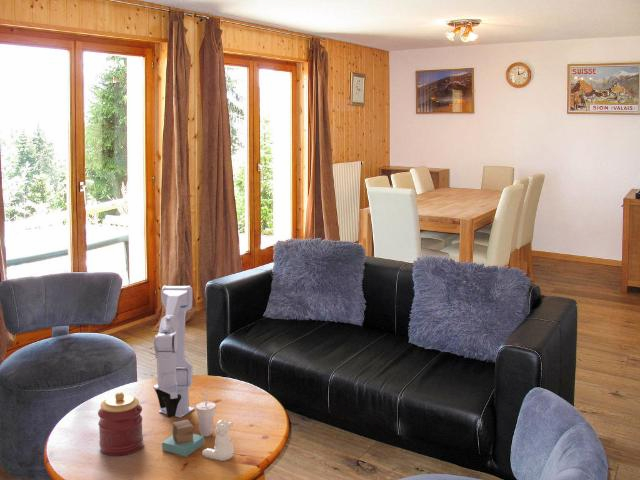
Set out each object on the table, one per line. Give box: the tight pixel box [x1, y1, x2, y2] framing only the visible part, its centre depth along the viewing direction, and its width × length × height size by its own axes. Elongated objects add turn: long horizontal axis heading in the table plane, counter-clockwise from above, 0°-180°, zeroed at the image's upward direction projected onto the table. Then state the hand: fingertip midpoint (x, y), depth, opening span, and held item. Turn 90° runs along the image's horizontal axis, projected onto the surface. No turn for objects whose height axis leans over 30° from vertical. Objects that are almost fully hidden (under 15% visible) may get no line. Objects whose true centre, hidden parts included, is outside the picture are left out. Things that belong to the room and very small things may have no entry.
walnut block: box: [172, 419, 194, 444], centre depth 206 cm, size 5×5×5 cm
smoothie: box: [195, 392, 217, 437], centre depth 214 cm, size 6×6×14 cm
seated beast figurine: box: [201, 419, 235, 462], centre depth 200 cm, size 10×9×12 cm
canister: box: [97, 391, 144, 457], centre depth 205 cm, size 13×13×18 cm
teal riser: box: [161, 433, 205, 457], centre depth 206 cm, size 9×9×2 cm
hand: (167, 411), depth 209 cm, fingers open, 7 cm apart
